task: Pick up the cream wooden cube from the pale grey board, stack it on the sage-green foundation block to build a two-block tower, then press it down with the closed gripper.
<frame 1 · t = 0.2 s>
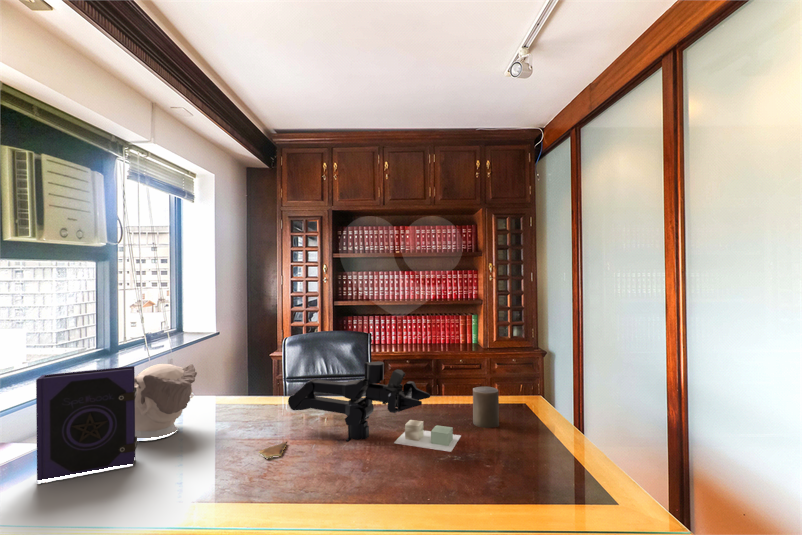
hand: (426, 399, 139), 17 cm above the table, tool horizontal, fingers open, 9 cm apart
shard: (271, 454, 139), on the table
cream block: (414, 437, 147), point 1 cm above the table, touching pale grey board
green foundation block: (442, 441, 143), resting on pale grey board
pillar candle: (486, 426, 160), on the table
pale grey board: (428, 442, 145), on the table
book: (90, 472, 127), on the table
bust: (161, 435, 155), on the table
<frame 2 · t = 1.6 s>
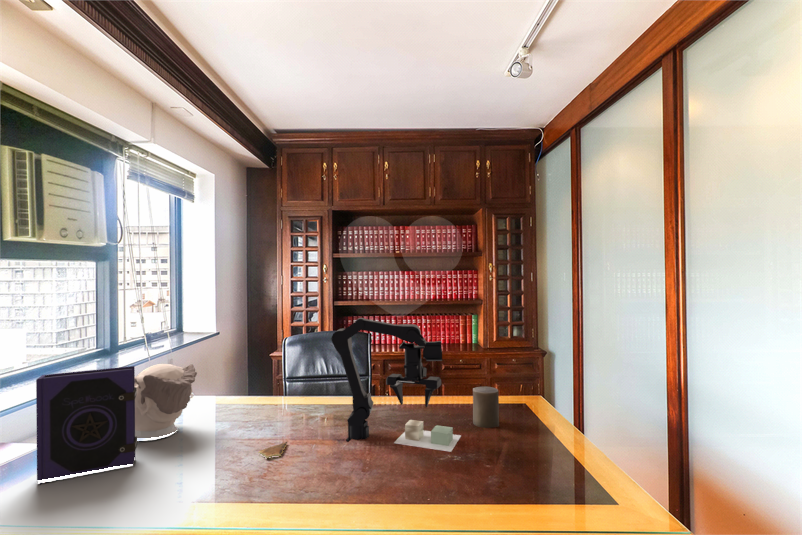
hand: (414, 405, 147), 12 cm above the table, tool pointing down, fingers open, 9 cm apart
nothing on the table moved.
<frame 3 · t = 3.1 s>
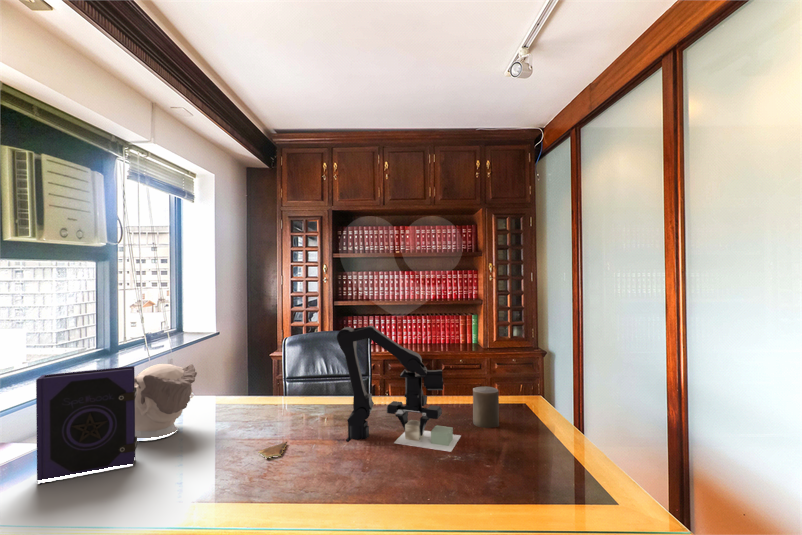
hand: (414, 434, 147), 2 cm above the table, tool pointing down, fingers closed on cream block, 5 cm apart
cream block: (414, 437, 147), point 1 cm above the table, touching gripper, pale grey board
everything else where it was.
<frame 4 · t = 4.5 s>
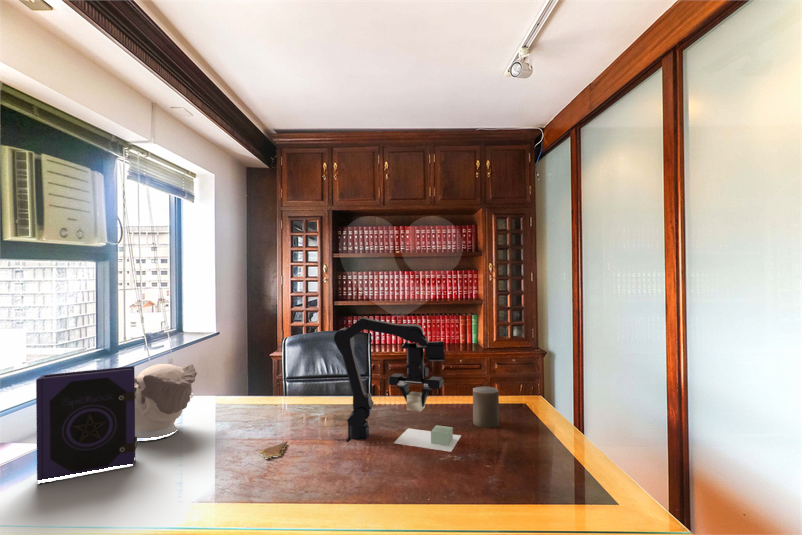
hand: (416, 405, 147), 12 cm above the table, tool pointing down, fingers closed on cream block, 5 cm apart
cream block: (416, 408, 147), point 11 cm above the table, touching gripper
everything else where it was.
when the fingers open (7 cm above the table, at t = 6.2 s): cream block drops 1 cm, resting on green foundation block.
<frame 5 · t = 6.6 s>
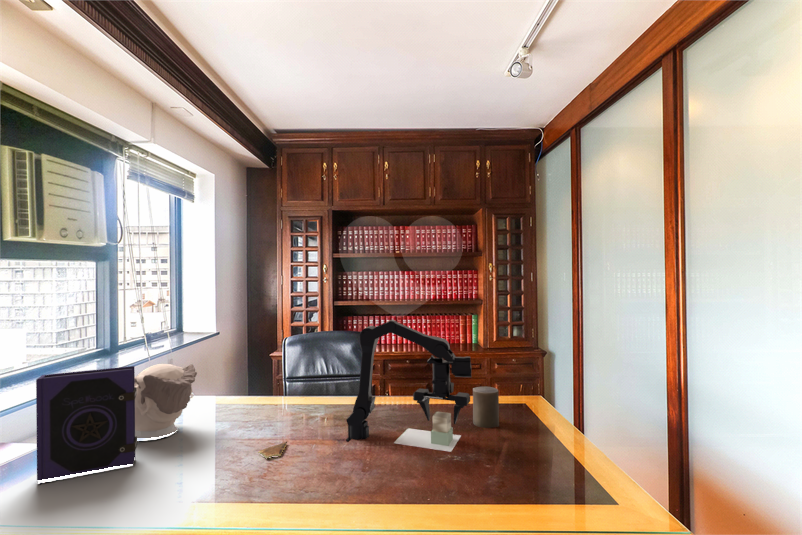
hand: (441, 422, 143), 7 cm above the table, tool pointing down, fingers open, 9 cm apart
cream block: (441, 429, 143), point 5 cm above the table, touching green foundation block
everything else where it was.
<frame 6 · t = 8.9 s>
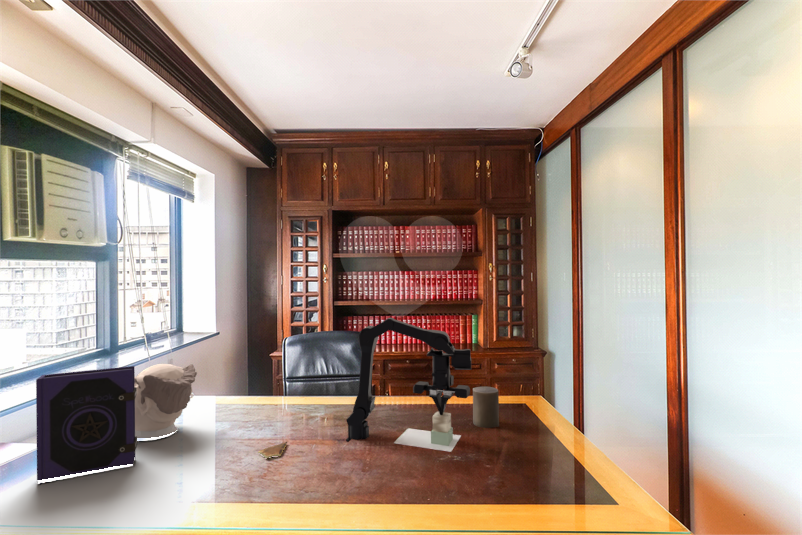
hand: (441, 414, 143), 10 cm above the table, tool pointing down, fingers closed
nothing on the table moved.
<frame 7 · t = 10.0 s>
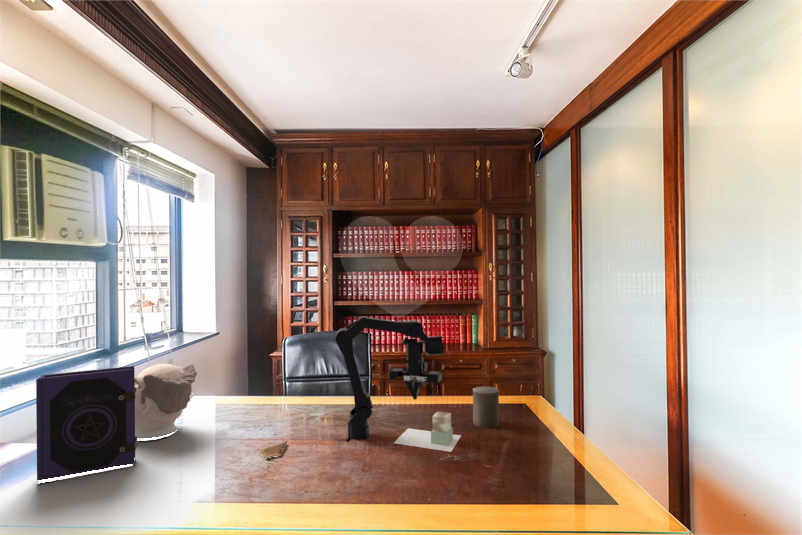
hand: (415, 399, 151), 13 cm above the table, tool pointing down, fingers closed
nothing on the table moved.
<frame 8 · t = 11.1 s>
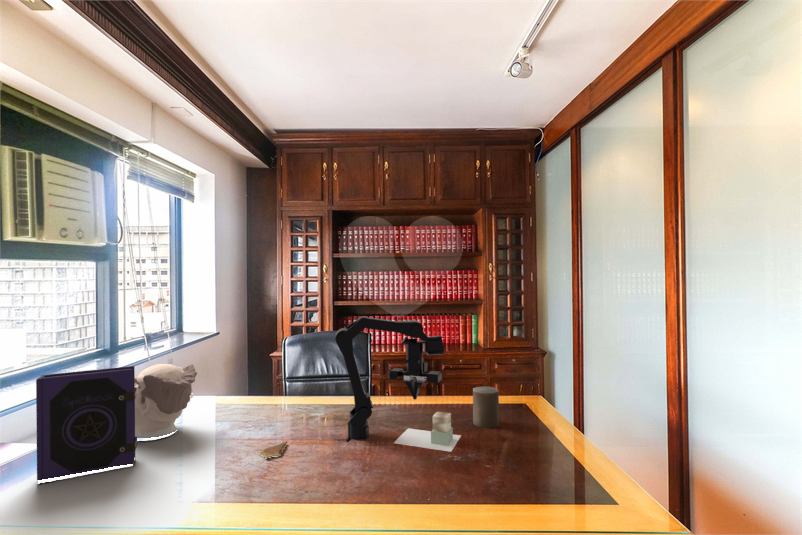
hand: (415, 399, 151), 13 cm above the table, tool pointing down, fingers closed
nothing on the table moved.
at the end: cream block 0.0 cm off-centre on the green foundation block, point 4.0 cm above the green foundation block's base; cream block tilted 0°; the gripper is holding nothing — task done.
